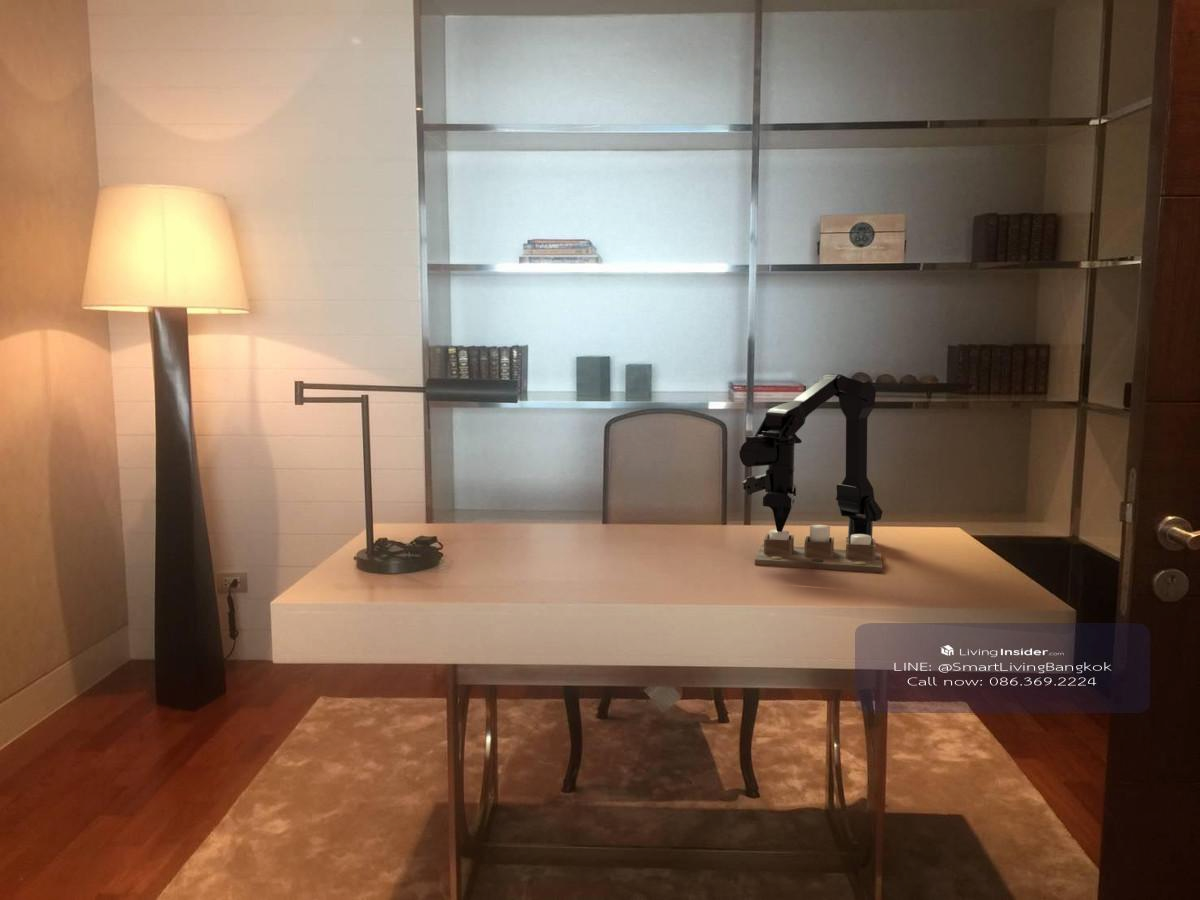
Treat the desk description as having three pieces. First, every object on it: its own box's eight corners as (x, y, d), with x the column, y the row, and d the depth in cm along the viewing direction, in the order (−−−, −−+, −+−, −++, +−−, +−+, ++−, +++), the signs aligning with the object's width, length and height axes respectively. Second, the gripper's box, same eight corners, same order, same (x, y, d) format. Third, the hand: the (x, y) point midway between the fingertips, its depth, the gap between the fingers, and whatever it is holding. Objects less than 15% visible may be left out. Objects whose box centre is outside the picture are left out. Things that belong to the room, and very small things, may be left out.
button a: (850, 550, 213) (850, 533, 213) (870, 552, 212) (871, 534, 212) (850, 555, 209) (850, 537, 209) (870, 556, 208) (871, 538, 207)
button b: (809, 541, 215) (810, 524, 215) (829, 542, 214) (830, 525, 214) (808, 545, 211) (809, 528, 211) (829, 546, 210) (829, 529, 210)
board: (761, 549, 222) (761, 531, 222) (880, 556, 215) (881, 537, 215) (754, 564, 208) (755, 544, 208) (881, 572, 201) (882, 552, 201)
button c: (770, 545, 218) (770, 528, 218) (789, 547, 217) (789, 530, 216) (768, 550, 214) (768, 532, 213) (787, 551, 213) (788, 533, 212)
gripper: (749, 457, 224) (748, 521, 226) (740, 468, 206) (739, 537, 208) (797, 459, 221) (795, 524, 223) (792, 470, 203) (790, 540, 205)
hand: (779, 531), depth 215 cm, fingers closed, pressing on button c
